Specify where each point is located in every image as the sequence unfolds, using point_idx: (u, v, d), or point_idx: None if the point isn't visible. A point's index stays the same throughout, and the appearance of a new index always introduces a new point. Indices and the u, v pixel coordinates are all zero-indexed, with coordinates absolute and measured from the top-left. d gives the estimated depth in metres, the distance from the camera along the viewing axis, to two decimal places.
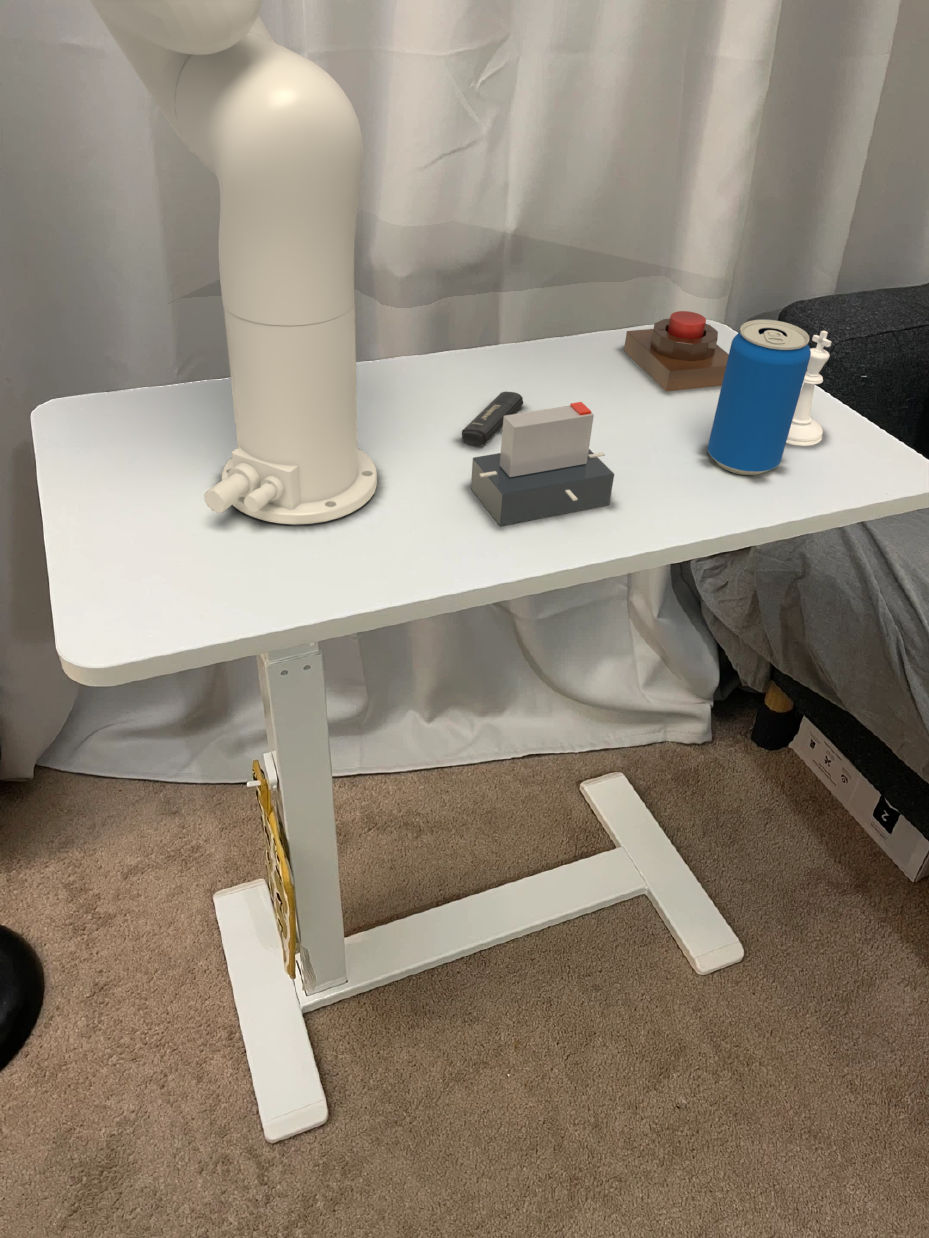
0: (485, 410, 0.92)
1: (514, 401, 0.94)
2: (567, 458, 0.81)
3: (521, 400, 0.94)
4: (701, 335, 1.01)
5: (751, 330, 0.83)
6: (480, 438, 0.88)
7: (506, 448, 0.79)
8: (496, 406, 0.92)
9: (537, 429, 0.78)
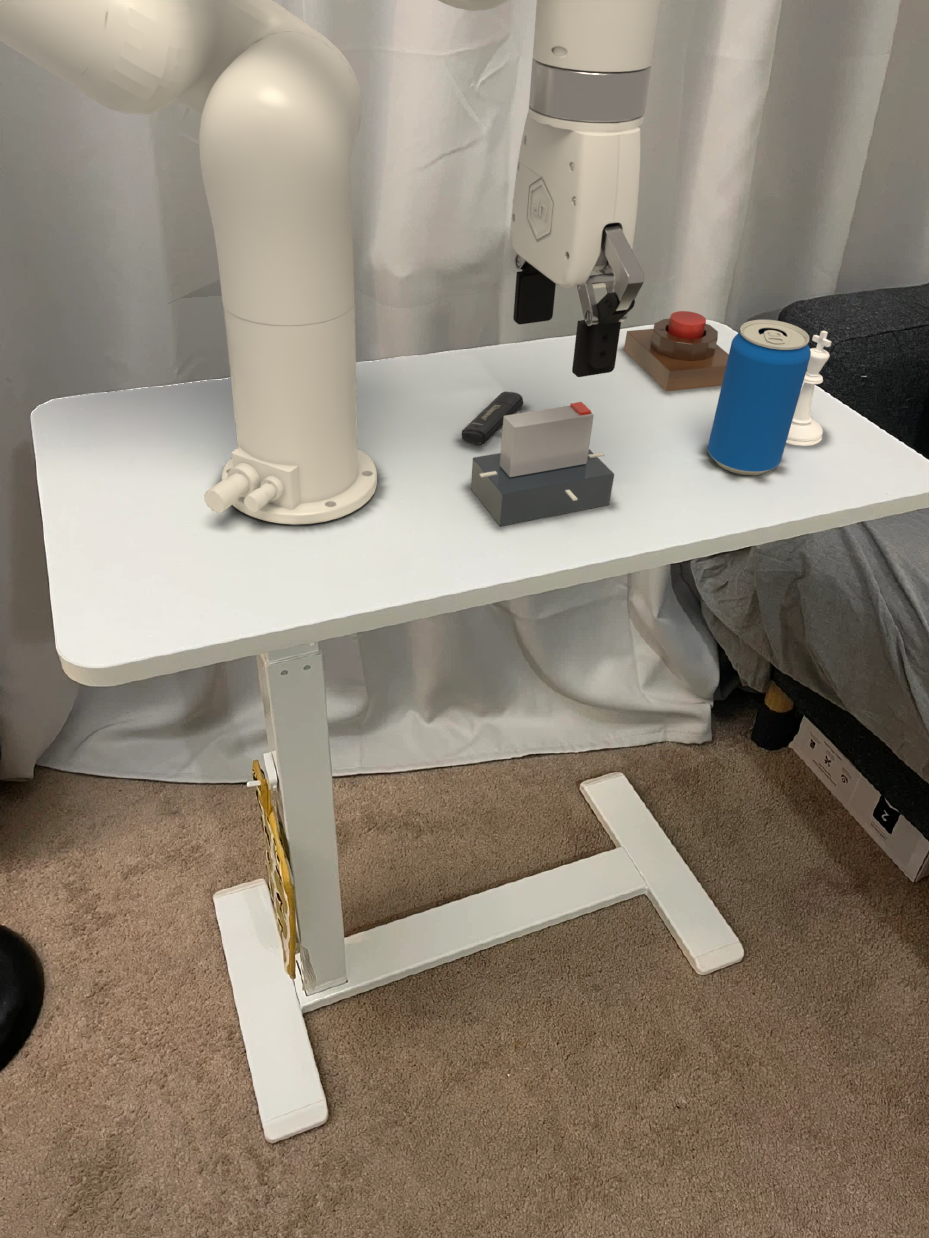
0: (485, 410, 0.92)
1: (514, 401, 0.94)
2: (567, 458, 0.81)
3: (521, 400, 0.94)
4: (701, 335, 1.01)
5: (751, 330, 0.83)
6: (480, 438, 0.88)
7: (506, 448, 0.79)
8: (496, 406, 0.92)
9: (537, 429, 0.78)
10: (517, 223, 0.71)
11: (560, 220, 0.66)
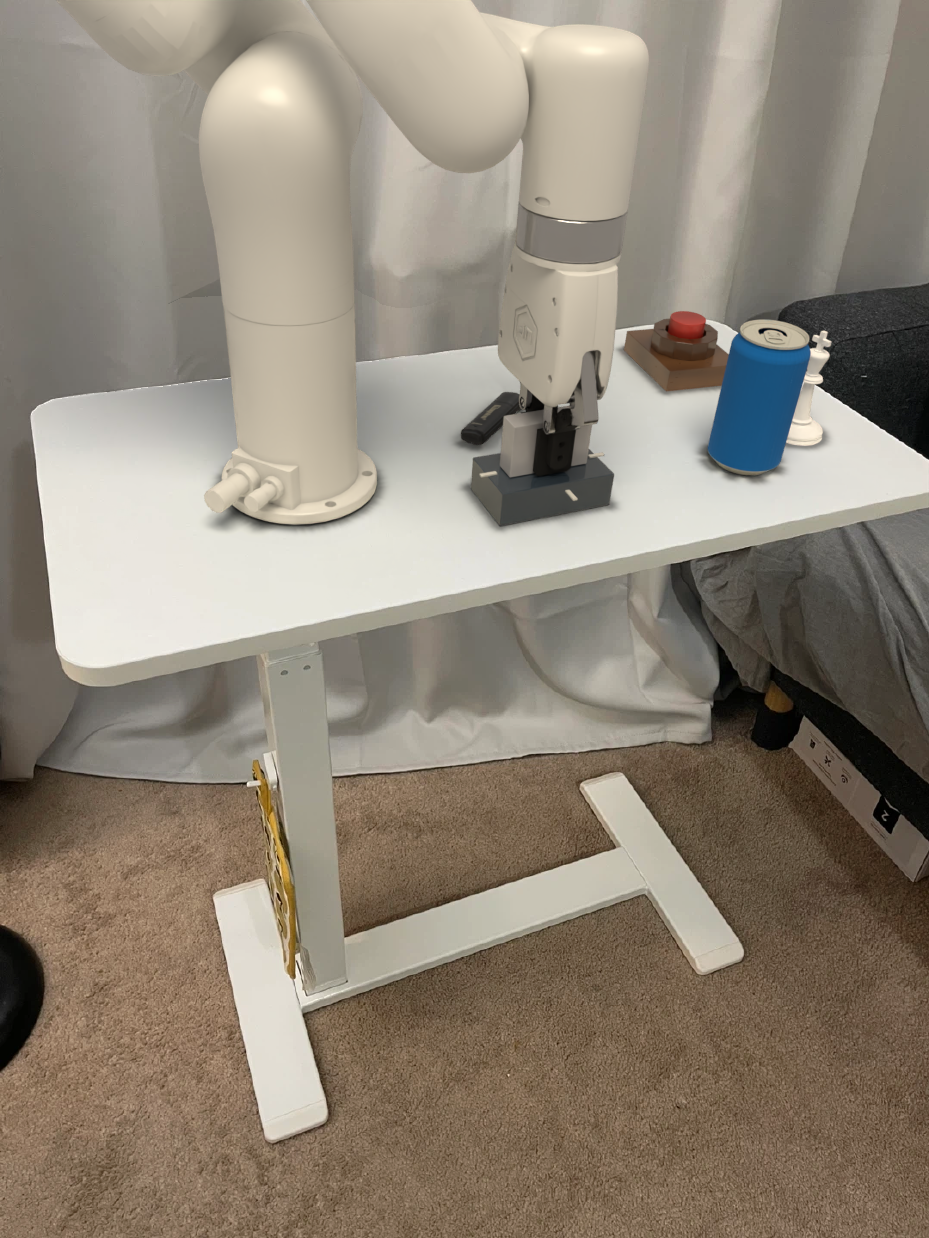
0: (485, 410, 0.92)
1: (515, 401, 0.94)
2: None
3: None
4: (701, 335, 1.01)
5: (751, 330, 0.83)
6: (479, 438, 0.88)
7: (506, 448, 0.79)
8: (497, 406, 0.92)
9: None
10: (504, 339, 0.77)
11: (543, 346, 0.71)
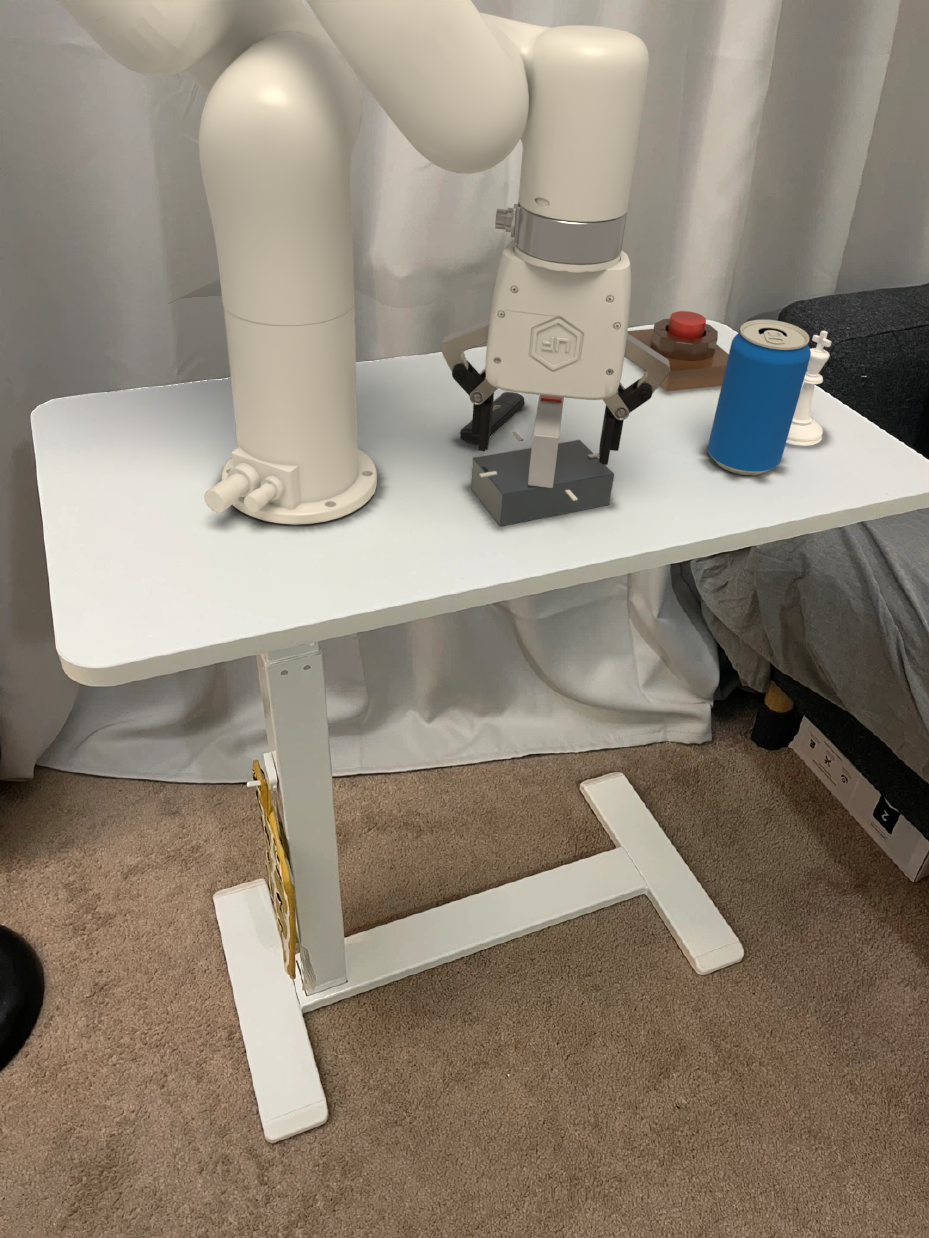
0: None
1: (515, 402, 0.94)
2: None
3: (522, 401, 0.94)
4: (701, 335, 1.01)
5: (751, 330, 0.83)
6: (478, 438, 0.88)
7: (543, 463, 0.77)
8: (497, 406, 0.92)
9: None
10: (508, 364, 0.73)
11: (596, 346, 0.72)
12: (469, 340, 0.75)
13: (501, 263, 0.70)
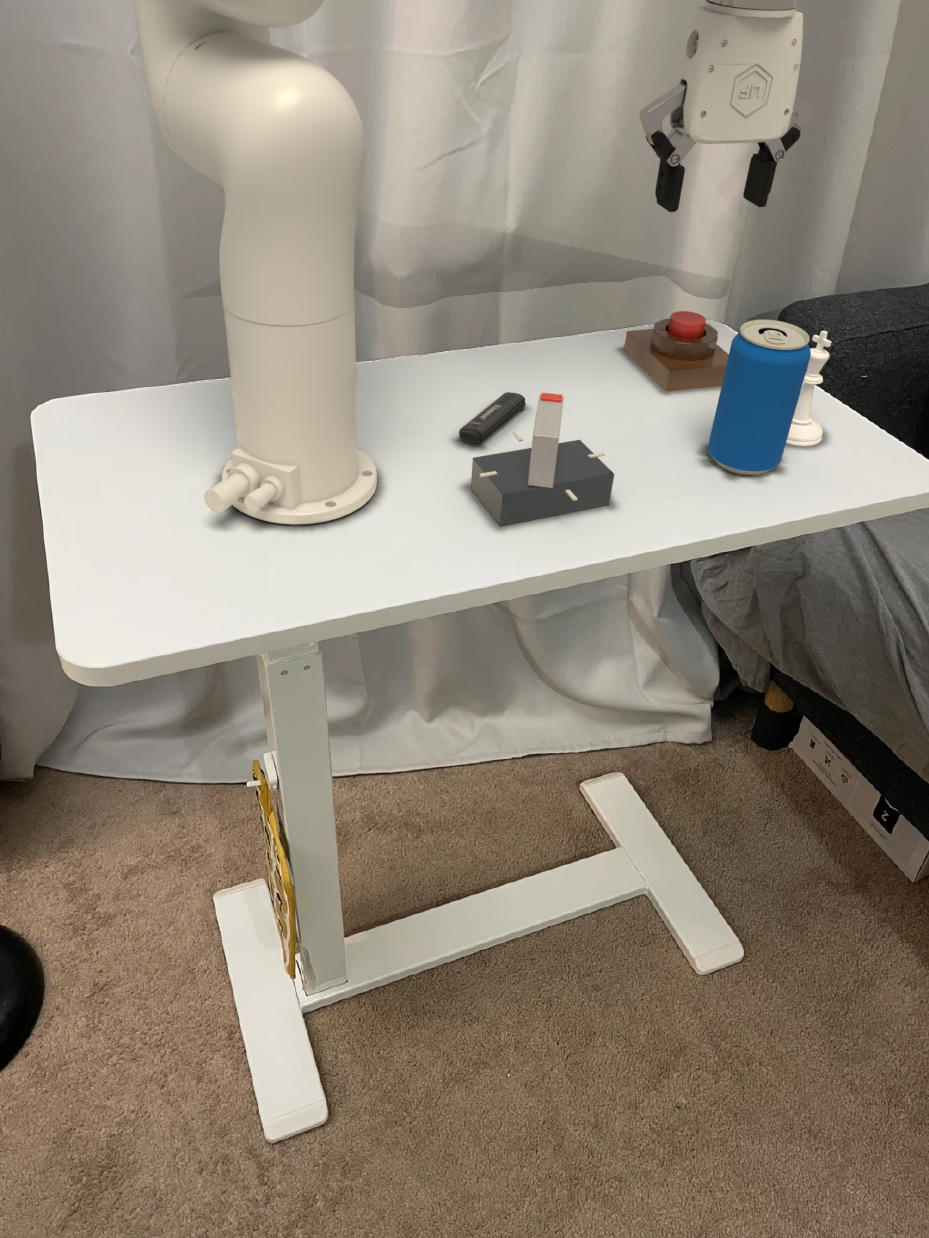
0: (485, 410, 0.92)
1: (516, 402, 0.93)
2: None
3: (523, 401, 0.94)
4: (701, 335, 1.01)
5: (751, 330, 0.83)
6: (476, 437, 0.88)
7: (543, 463, 0.77)
8: (497, 406, 0.92)
9: None
10: (711, 116, 0.86)
11: (779, 88, 0.86)
12: (669, 105, 0.87)
13: (708, 22, 0.82)
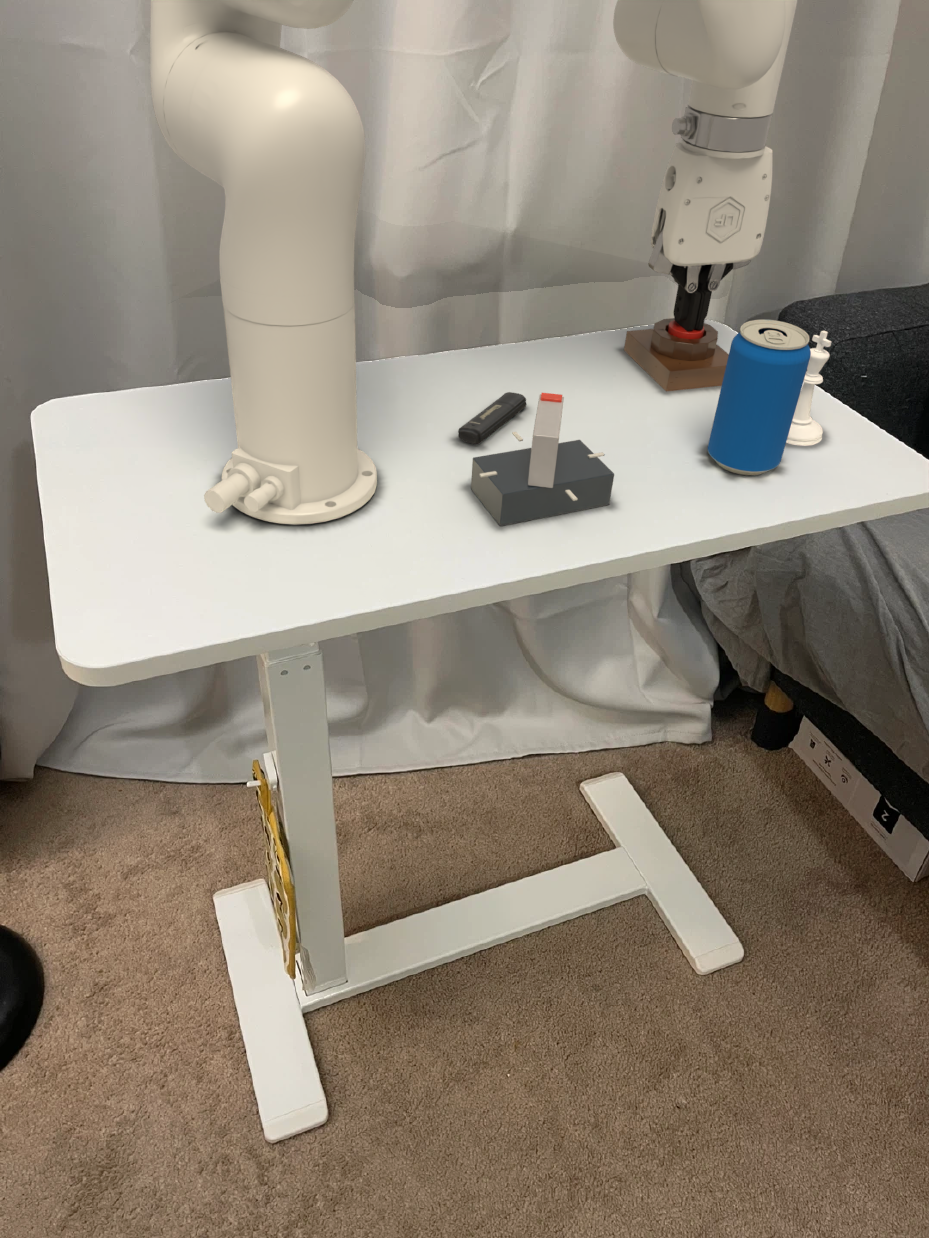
0: (485, 410, 0.92)
1: (516, 402, 0.93)
2: None
3: (524, 401, 0.94)
4: None
5: (751, 330, 0.83)
6: (475, 437, 0.88)
7: (543, 463, 0.77)
8: (497, 406, 0.92)
9: None
10: (688, 243, 0.93)
11: (752, 216, 0.93)
12: None
13: (684, 161, 0.89)
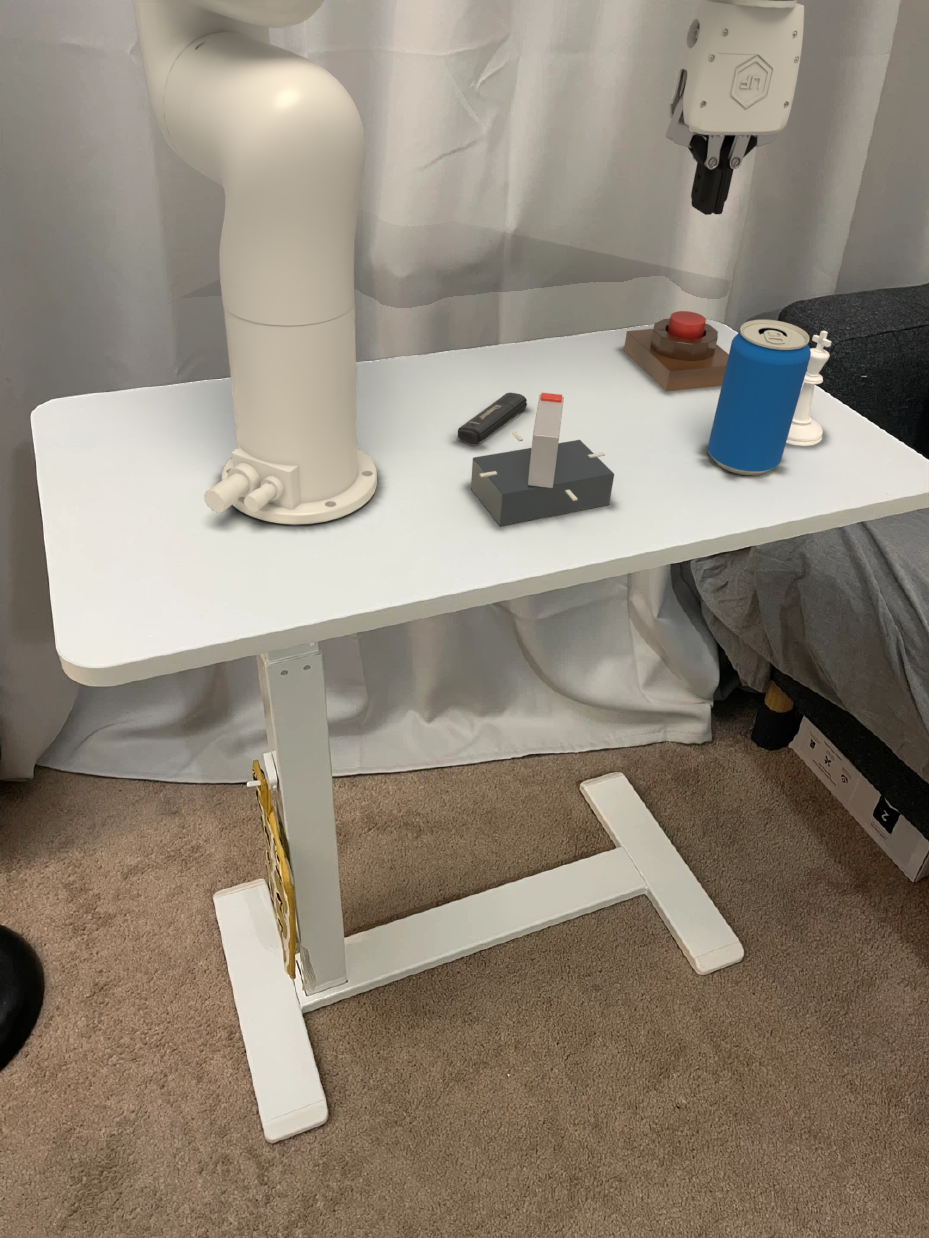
0: (485, 410, 0.92)
1: (516, 402, 0.93)
2: None
3: (524, 402, 0.94)
4: (701, 335, 1.01)
5: (751, 330, 0.83)
6: (474, 437, 0.88)
7: (543, 463, 0.77)
8: (497, 406, 0.92)
9: None
10: (711, 106, 0.86)
11: (780, 80, 0.86)
12: None
13: (710, 11, 0.82)
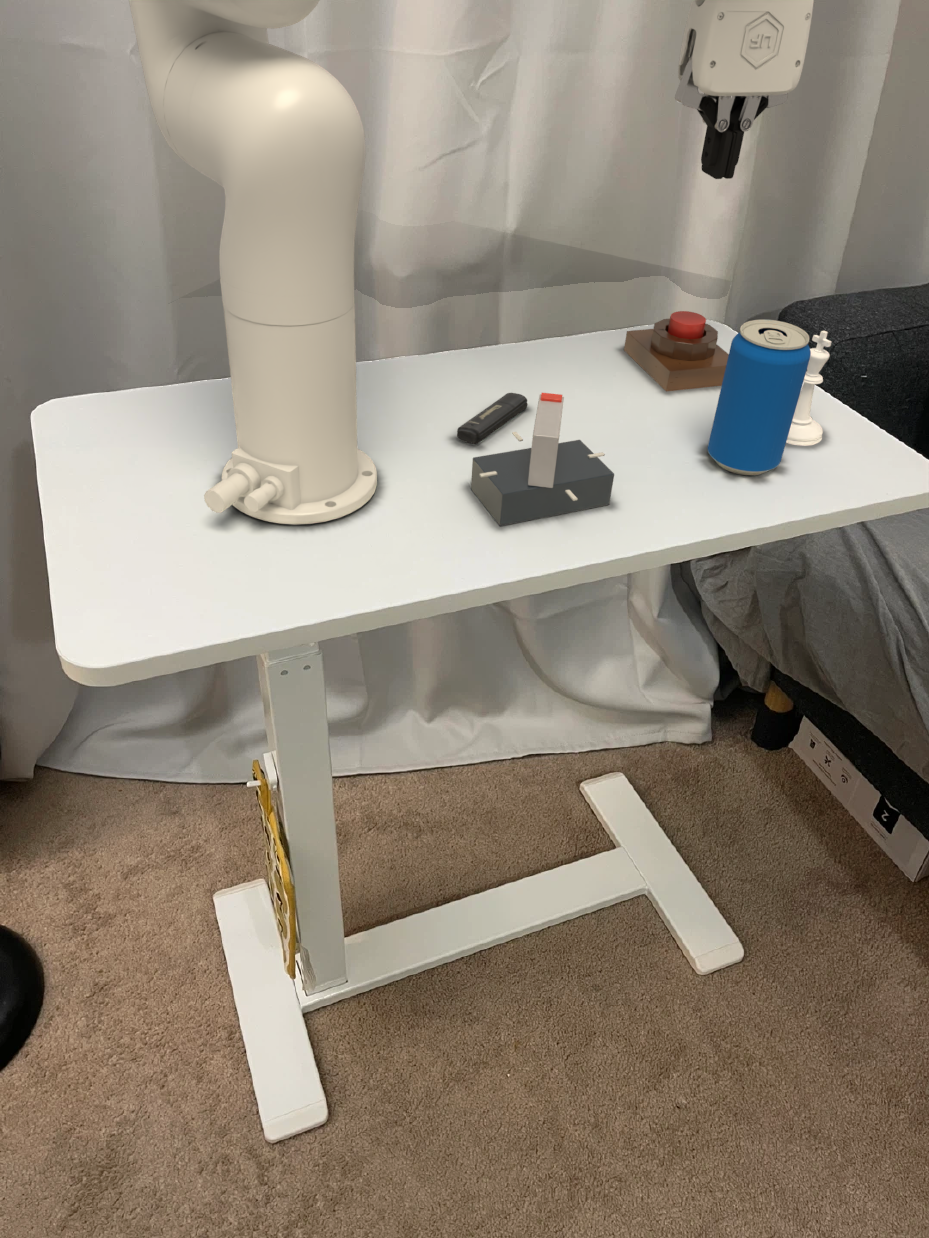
0: (485, 410, 0.92)
1: (517, 402, 0.93)
2: None
3: (525, 402, 0.94)
4: (701, 335, 1.01)
5: (751, 330, 0.83)
6: (473, 437, 0.88)
7: (543, 463, 0.77)
8: (497, 406, 0.92)
9: None
10: (721, 66, 0.84)
11: (791, 38, 0.84)
12: None
13: None
